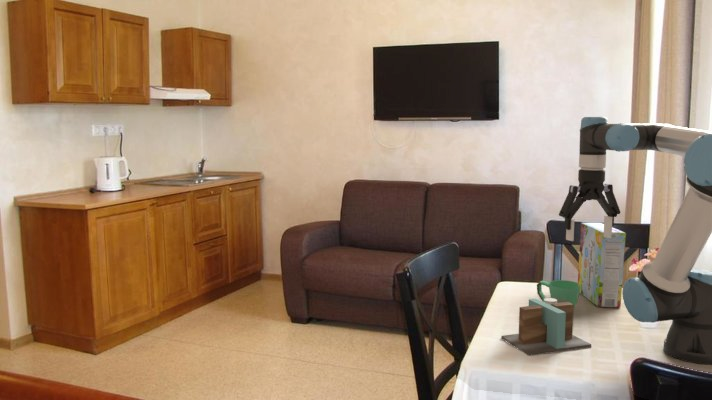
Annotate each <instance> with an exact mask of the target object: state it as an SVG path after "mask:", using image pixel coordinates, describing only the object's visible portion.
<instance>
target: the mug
mask: <svg viewBox="0 0 712 400" xmlns="http://www.w3.org/2000/svg"><path fill="white" fill-rule="evenodd" d="M542 286H545V287H547V288H549V289H548V290H549V294H550V298H554V299H557V303H562V302H570V303H572V304H574V309H573V311H574V310H575V308H576V305H577V302H578V298H579V295H580V293H579V292H580V288H581V285H580V284H579V286H578V282H577V281H571V280H565V279H564V280H563V279H562V280H561V279H557V280H551V281H546V280H540V281H539V282H537V284H536V291H537V292H536V293H537V296H538V297H539V298H540V300H541V301H543V302H544V299H545V298H547V297H546V296H545V294H544V292H543V290H542Z"/></svg>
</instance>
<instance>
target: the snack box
mask: <svg viewBox="0 0 712 400" xmlns="http://www.w3.org/2000/svg"><path fill="white" fill-rule="evenodd" d="M603 236H604V223H602V222H580V237H579V251H578V253H579V255H578V270H577V271H578V273H577V284H578V286H579V284H580V285H581V288H580V292H579V294H580V295H582V296H583V297H584V298H586V299H587V300H589V301H590V302H591V303H593V304H594V305H595V306H596V307H598V308H621V306H622V291H623V278H624V277H623V276H624V264H625V263H624V262H625V249H626V238H627V237H626V236H627V233H626V232H624V231H622V230H620V229H617V228H614V226H613V227H612V238H606V237H603Z"/></svg>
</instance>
